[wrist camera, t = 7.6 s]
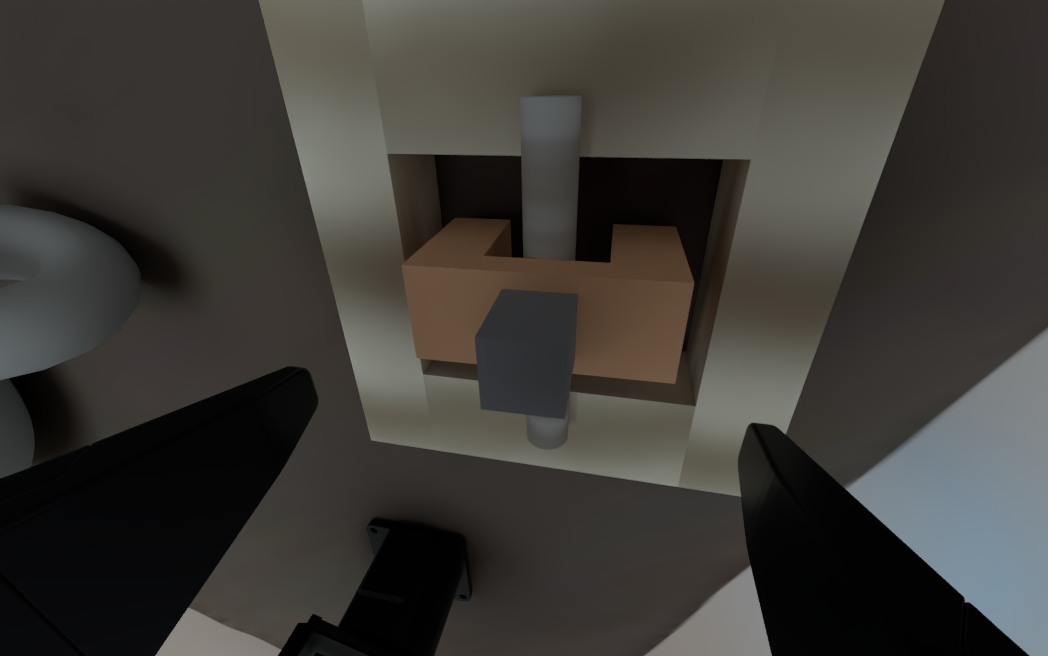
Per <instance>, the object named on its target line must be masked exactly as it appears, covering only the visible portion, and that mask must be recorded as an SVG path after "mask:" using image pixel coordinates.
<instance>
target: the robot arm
mask: <svg viewBox="0 0 1048 656" xmlns="http://www.w3.org/2000/svg"><path fill="white" fill-rule="evenodd" d="M317 406H318V395H317V392H316V389H315V386H314V383H313V380H312V376H311V374H310V372H309V371H308V370H307V369H305V368H301V367H293V366H289V367H285V368H283V369H280V370H278V371H275V372H272V373H270V374H267V375H265V376H262V377H260V378H257V379H255V380H252V381H250V382H247V383H244V384H242V385H239V386H237V387H234V388H232V389H229V390H227V391H224V392H222V393H219V394H217V395H214V396H211V397H209V398H206V399H204V400H201V401H199V402H196V403H194V404H191V405H189V406H186V407H184V408H181V409H178V410H176V411H173V412H171V413H168V414H166V415H163V416H161V417H158V418H156V419H153V420H150V421H148V422H145V423H143V424H140V425H138V426H135V427H133V428H130V429H128V430H125V431H123V432H120V433H117V434H115V435H112V436H110V437H107V438H105V439H102V440H100V441H97V442H95V443H93V444H92V445H91V446H89V445H87V446H84V447H82V448H79V449H77V450H74V451H72V452H69V453H66V454H64V455H61V456H59V457H56V458H53V459H51V460H48V461H46V462H43V463H40V464H38V465H35V466H33V467H30V468H27V469H25V470H22V471H19V472H16V473H14V474H11V475H8V476H5V477H3V478H0V656H155V655H156V654H157V652H158V651H159V649H160V648H161V646H162V645H163V643H164V642H165V640H166V639H167V637H168V636H169V634H170V633H171V632H172V630H173V629H174V627H175V626H176V624H177V623H178V621H179V620H180V618H181V617H182V615H183V614H184V613H185V611H186V610H187V608H188V607H189V605H190V604H191V603H192V601H193V600H194V598H195V597H196V595H197V594H198V592H199V591H200V589H201V588H202V586H203V585H204V584H205V582H206V581H207V579H208V578H209V576H210V575H211V573H212V572H213V570H214V569H215V567H216V566H217V565H218V563H219V562H220V560H221V559H222V557H223V556H224V554H225V553H226V551H227V550H228V549H229V547H230V546H231V544H232V543H233V541H234V540H235V538H236V537H237V535H238V534H239V532H240V531H241V530H242V528H243V527H244V525H245V524H246V522H247V521H248V519H249V518H250V516H251V515H252V513H253V512H254V511H255V509H256V508H257V506H258V505H259V503H260V502H261V500H262V499H263V497H264V496H265V495H266V493H267V492H268V490H269V489H270V487H271V486H272V484H273V483H274V481H275V480H276V478H277V477H278V475H279V474H280V472H281V471H282V469H283V468H284V466H285V464H286V463H287V461H288V459H289V458H290V456H291V454H292V452H293V450H294V448H295V447H296V445H297V443H298V441H299V439H300V438H301V436H302V434H303V432H304V430H305V429H306V427H307V425H308V423H309V421H310V420H311V418H312V416H313V414H314V412H315V411H316V408H317ZM738 474H739V483H740V492H741V501H742V510H743V519H744V528H745V536H746V544H747V550H748V555H749V560H750V564H751V568H752V573H753V577H754V581H755V585H756V590H757V594H758V598H759V602H760V607H761V611H762V615H763V619H764V624H765V628H766V632H767V636H768V641H769V645H770V649H771V653H772V656H1029V655H1028V654H1027V653H1026V652H1025V651H1023V650H1022V649H1021V648H1020V647H1019V646H1018V645H1017V644H1015V643H1014V642H1013V641H1012V640H1011V639H1010V638H1009V637H1008V636H1006V635H1005V634H1004V633H1003V632H1002V631H1001V630H1000V629H998V628H997V627H996V626H995V625H994V624H993V623H992V622H991V621H990V620H989V619H988V618H987V617H985V616H984V615H983V614H982V613H981V612H980V611H979V610H978V609H977V608H975V607H974V606H973V605H972V604H971V603H967V602H965V599H964V597H963V596H962V595H961V594H960V593H959V592H958V591H957V590H956V589H954V588H953V587H952V586H951V585H950V584H949V583H948V582H947V581H946V580H945V579H943V578H942V577H941V576H940V575H939V574H938V573H937V572H936V571H935V570H934V569H932V568H931V567H930V566H929V565H928V564H927V563H926V562H925V561H924V560H922V559H921V558H920V557H919V556H918V555H917V554H916V553H915V552H913V550H912V549H910V548H909V547H908V546H907V545H906V544H905V543H904V542H903V541H902V540H901V539H899V538H898V537H897V536H896V535H895V534H894V533H893V532H892V531H891V530H890V529H889V528H887V527H886V526H885V525H884V524H883V523H882V522H881V521H880V520H879V519H877V518H876V517H875V516H874V515H873V514H872V513H871V512H870V511H869V510H868V509H867V508H865V507H864V506H863V505H862V504H861V503H860V502H859V501H858V500H857V499H856V498H854V497H853V496H852V495H851V494H850V493H849V492H848V491H847V490H846V489H845V488H843V487H842V486H841V485H840V484H839V483H838V482H837V481H836V480H835V479H834V478H833V477H831V476H830V475H829V474H828V473H827V472H826V471H825V470H824V469H823V468H822V467H820V466H819V465H818V464H817V463H816V462H815V461H814V460H813V459H812V458H811V457H809V456H808V455H807V454H806V453H805V452H804V451H803V450H802V449H801V448H800V447H798V446H797V445H796V444H795V443H794V442H793V441H792V440H791V439H790V438H789V437H787V436H786V435H785V434H784V433H783V432H782V431H781V430H780V429H779V428H777V427H776V426H774V425H770V424H762V423H751V424H749V425H748V427H747V429H746V432H745V436H744V439H743V442H742V445H741V449H740V452H739V455H738ZM367 531H368V535H369V538H370V541H371V545H372V548H373V551H374V555H375V558H374V560H373V562H372V563H371V565H370V567H369V569H368V571H367V573H366V575H365V577H364V578H363V580H362V582H361V584H360V586H359V588H358V590H357V592H356V593H355V595H354V597H353V599H352V601H351V603H350V605H349V606H348V608H347V610H346V612H345V614H344V616H343V618H342V620H341V621H340V623H339V625H338V627H337V626H335V625H332V624H330V623H328V622H326V621H323V620H322V617H319V616H317V615H315V614H313V615H312V616H311V618H310V619H309V621H308V622H307V623H298V624H297V626H296V628H295V629H294V631H293V632H292V634H291V636H290V637H289V639H288V641H287V642H286V644H285V646H284V647H283V649H282V650H281V652H280V653H279V655H278V656H434V655H435V652H436V649H437V646H438V643H439V640H440V638H441V635H442V632H443V629H444V626H445V623H446V620H447V617H448V614H449V611H450V608H451V605H452V603H453V600H454V599H457V600H461V601H469V600H470V598H471V595H472V589H471V581H470V574H469V566H468V559H467V552H466V544H465V540H464V539H463V538H462V537H460V536H457V535H451V534H446V533H441V532H436V531H430V530H425V529H420V528H414V527H409V526H404V525H399V524H393V523H388V522H383V521H377V520H372V521H370V523H369V524H368V526H367Z"/></svg>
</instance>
